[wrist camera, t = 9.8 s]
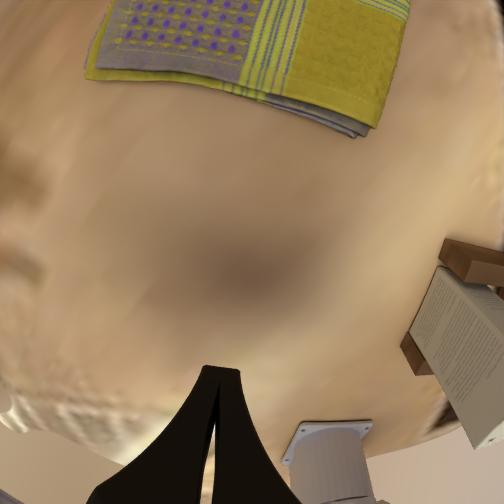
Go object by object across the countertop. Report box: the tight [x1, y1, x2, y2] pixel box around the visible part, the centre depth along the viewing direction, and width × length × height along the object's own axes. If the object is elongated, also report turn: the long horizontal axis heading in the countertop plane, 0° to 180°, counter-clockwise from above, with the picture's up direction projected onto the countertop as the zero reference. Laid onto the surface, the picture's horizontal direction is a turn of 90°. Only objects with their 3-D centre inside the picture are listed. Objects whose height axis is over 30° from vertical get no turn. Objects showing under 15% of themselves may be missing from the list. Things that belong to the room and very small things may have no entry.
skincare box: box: [409, 267, 504, 450], centre depth 14 cm, size 6×4×12 cm
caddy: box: [400, 239, 504, 376], centre depth 18 cm, size 12×10×4 cm
